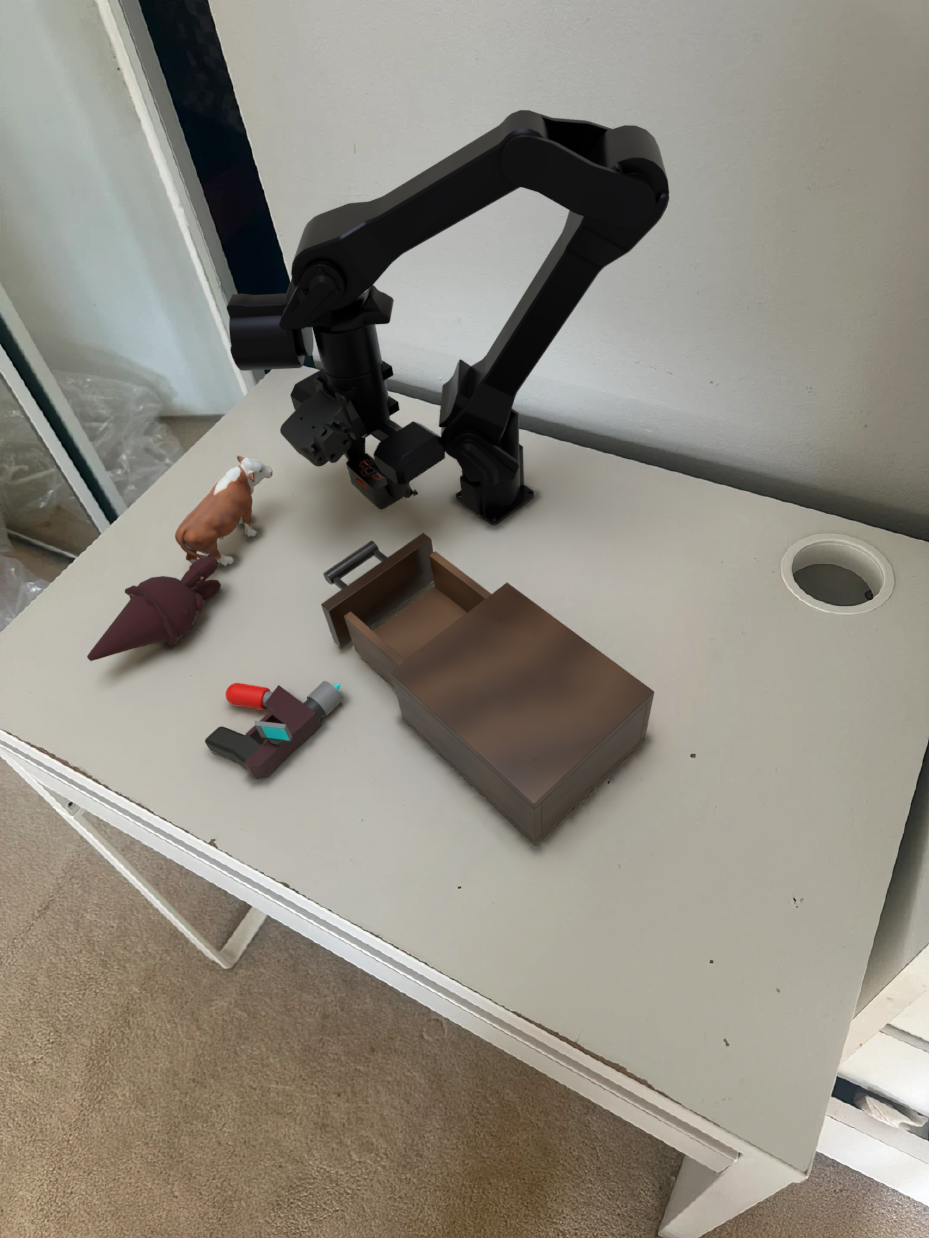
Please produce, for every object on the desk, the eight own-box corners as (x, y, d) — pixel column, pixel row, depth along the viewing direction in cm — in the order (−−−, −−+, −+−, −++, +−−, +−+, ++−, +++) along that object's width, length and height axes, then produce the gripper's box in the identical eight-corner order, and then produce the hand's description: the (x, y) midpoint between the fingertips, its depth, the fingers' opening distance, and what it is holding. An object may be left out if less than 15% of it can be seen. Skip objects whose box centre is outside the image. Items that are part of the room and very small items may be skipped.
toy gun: (357, 699, 73) (346, 669, 69) (259, 794, 68) (243, 767, 64) (286, 649, 77) (273, 618, 74) (190, 734, 72) (170, 706, 68)
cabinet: (402, 719, 71) (389, 672, 65) (509, 633, 76) (506, 581, 71) (534, 845, 63) (534, 804, 57) (645, 739, 68) (654, 691, 62)
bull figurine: (292, 509, 90) (273, 453, 83) (210, 588, 83) (182, 534, 77) (263, 497, 91) (242, 441, 85) (181, 573, 85) (151, 519, 79)
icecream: (105, 666, 70) (240, 574, 77) (54, 613, 72) (191, 529, 79) (120, 701, 76) (244, 612, 83) (72, 651, 77) (198, 569, 85)
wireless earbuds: (384, 517, 86) (379, 495, 83) (349, 484, 89) (344, 462, 87) (419, 497, 87) (415, 475, 85) (383, 466, 91) (378, 443, 88)
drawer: (304, 614, 79) (290, 576, 74) (399, 548, 83) (391, 508, 79) (439, 741, 69) (432, 706, 64) (539, 658, 73) (539, 619, 69)
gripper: (228, 361, 77) (271, 482, 89) (343, 444, 68) (374, 566, 80) (320, 312, 81) (349, 434, 93) (440, 384, 72) (455, 509, 84)
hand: (378, 483), depth 87 cm, fingers closed on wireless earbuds, 7 cm apart
